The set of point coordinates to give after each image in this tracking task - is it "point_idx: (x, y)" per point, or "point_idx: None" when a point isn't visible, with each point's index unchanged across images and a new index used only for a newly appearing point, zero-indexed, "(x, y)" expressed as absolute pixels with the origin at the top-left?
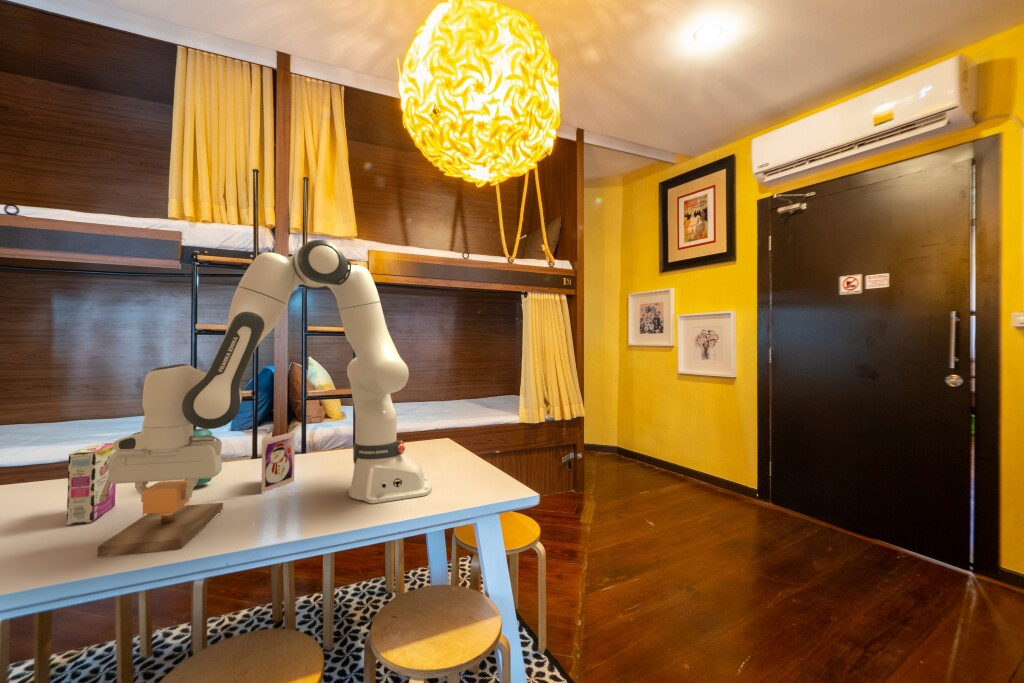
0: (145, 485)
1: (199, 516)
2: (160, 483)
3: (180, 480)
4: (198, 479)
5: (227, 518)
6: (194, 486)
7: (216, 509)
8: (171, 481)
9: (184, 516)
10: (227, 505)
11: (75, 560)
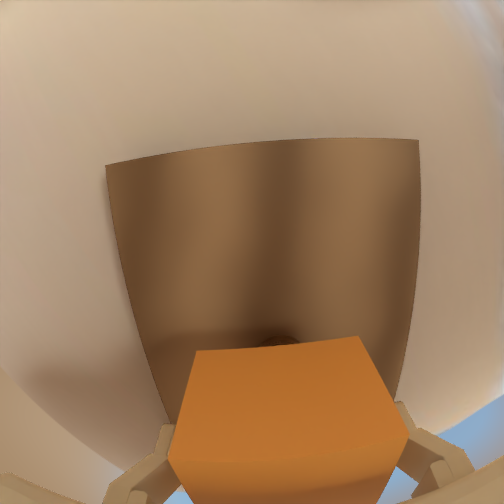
0: (138, 483)
1: (385, 314)
2: (217, 487)
3: (341, 451)
4: (466, 455)
5: (443, 241)
6: (432, 436)
7: (417, 219)
8: (276, 469)
9: (321, 307)
10: (386, 76)
11: (155, 442)
